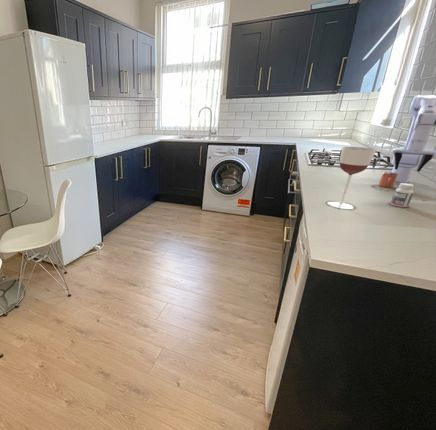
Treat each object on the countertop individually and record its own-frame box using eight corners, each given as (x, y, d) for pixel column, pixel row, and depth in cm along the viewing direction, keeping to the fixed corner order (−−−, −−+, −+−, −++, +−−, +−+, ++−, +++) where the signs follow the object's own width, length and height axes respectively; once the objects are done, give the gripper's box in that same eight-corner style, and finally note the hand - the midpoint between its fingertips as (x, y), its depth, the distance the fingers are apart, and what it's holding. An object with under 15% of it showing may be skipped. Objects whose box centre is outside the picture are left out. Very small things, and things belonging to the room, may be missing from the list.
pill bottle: (400, 203, 117) (408, 182, 113) (411, 207, 112) (420, 186, 108) (386, 202, 117) (394, 182, 114) (397, 207, 112) (405, 185, 109)
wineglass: (361, 210, 109) (382, 150, 101) (332, 208, 111) (350, 150, 102) (347, 202, 118) (366, 147, 109) (321, 200, 119) (337, 146, 111)
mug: (377, 184, 140) (382, 171, 138) (392, 185, 137) (397, 172, 135) (379, 187, 134) (384, 174, 132) (394, 189, 131) (400, 175, 129)
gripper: (398, 140, 128) (387, 169, 133) (444, 142, 120) (430, 173, 125) (395, 138, 133) (385, 166, 138) (439, 141, 125) (427, 170, 130)
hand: (406, 170), depth 132 cm, fingers open, 7 cm apart
